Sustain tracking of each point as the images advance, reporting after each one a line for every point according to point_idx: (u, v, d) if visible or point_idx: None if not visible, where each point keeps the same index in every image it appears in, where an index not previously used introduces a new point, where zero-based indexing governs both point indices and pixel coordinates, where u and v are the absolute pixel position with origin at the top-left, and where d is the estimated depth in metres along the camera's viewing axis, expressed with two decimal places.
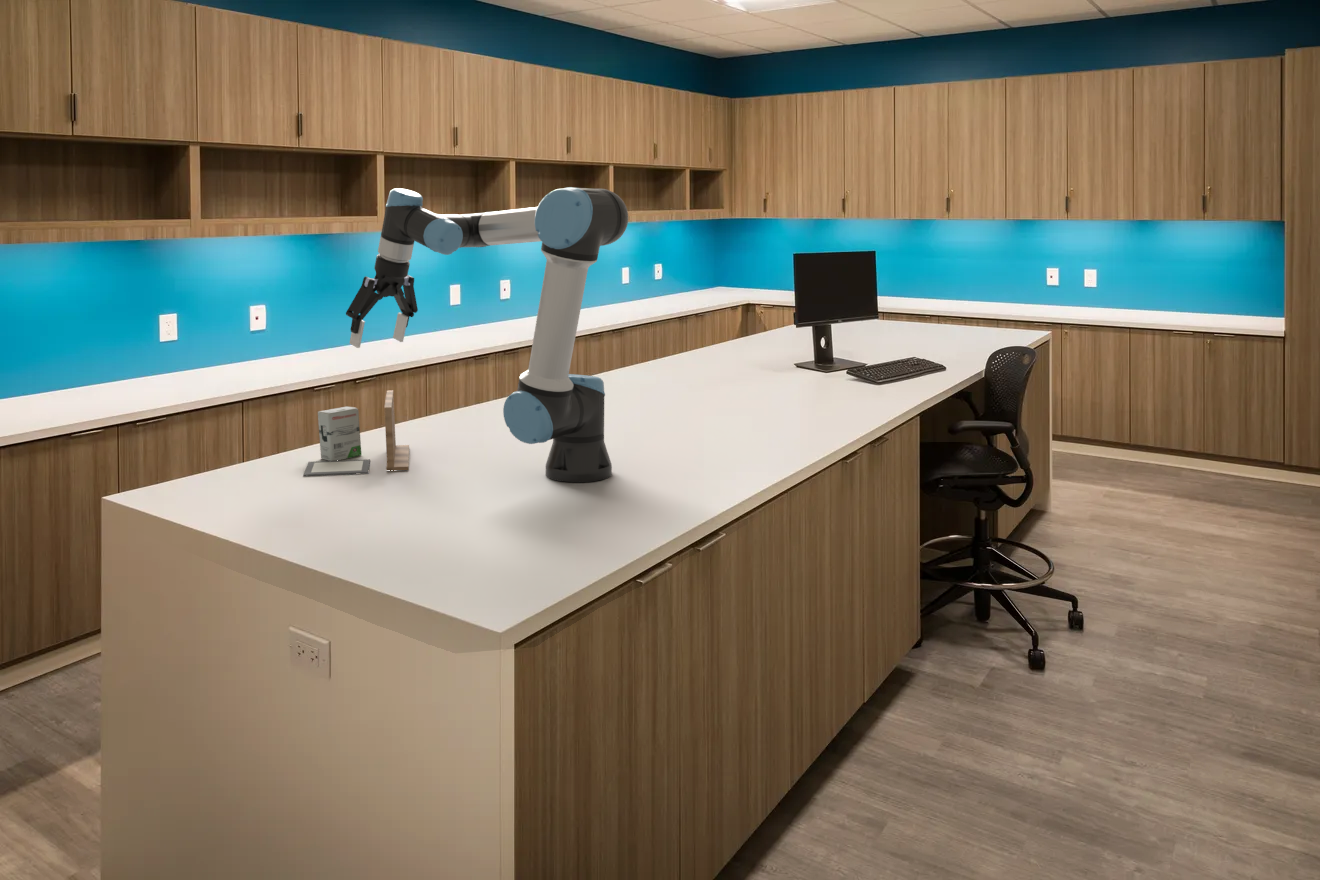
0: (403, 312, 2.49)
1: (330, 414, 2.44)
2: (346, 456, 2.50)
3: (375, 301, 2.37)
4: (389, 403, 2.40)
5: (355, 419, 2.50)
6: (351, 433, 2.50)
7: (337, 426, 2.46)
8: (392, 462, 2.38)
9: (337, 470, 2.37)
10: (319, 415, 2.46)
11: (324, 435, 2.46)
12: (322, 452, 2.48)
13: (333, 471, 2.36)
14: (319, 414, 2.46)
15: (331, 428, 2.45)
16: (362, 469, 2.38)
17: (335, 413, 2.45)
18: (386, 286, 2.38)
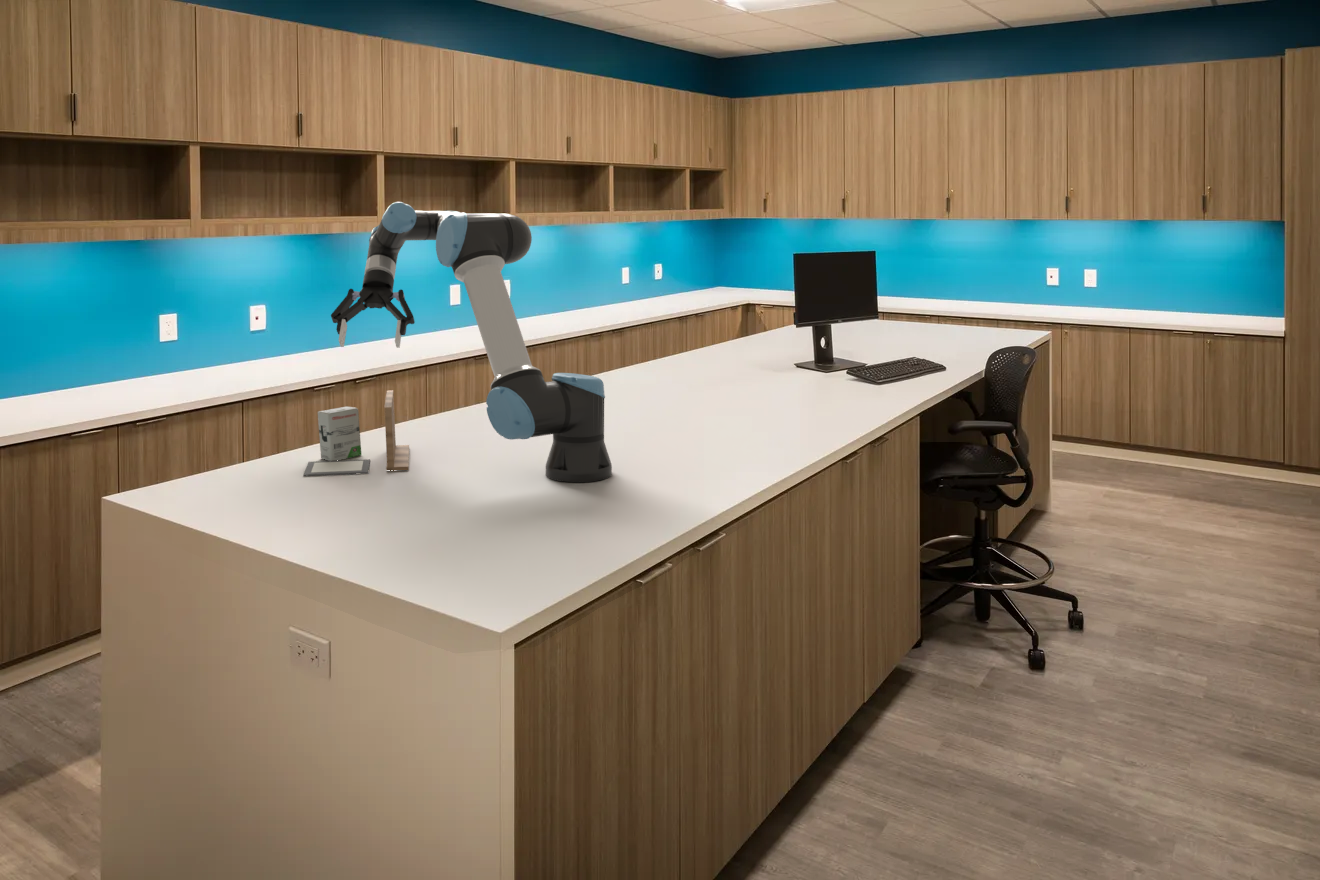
0: None
1: (330, 414, 2.44)
2: (346, 456, 2.50)
3: (356, 305, 2.60)
4: (389, 403, 2.40)
5: (355, 419, 2.50)
6: (351, 433, 2.50)
7: (336, 426, 2.46)
8: (392, 462, 2.38)
9: (337, 470, 2.37)
10: (319, 415, 2.46)
11: (324, 435, 2.46)
12: (322, 452, 2.48)
13: (333, 471, 2.36)
14: (319, 414, 2.46)
15: (331, 428, 2.45)
16: (362, 469, 2.38)
17: (335, 413, 2.45)
18: None
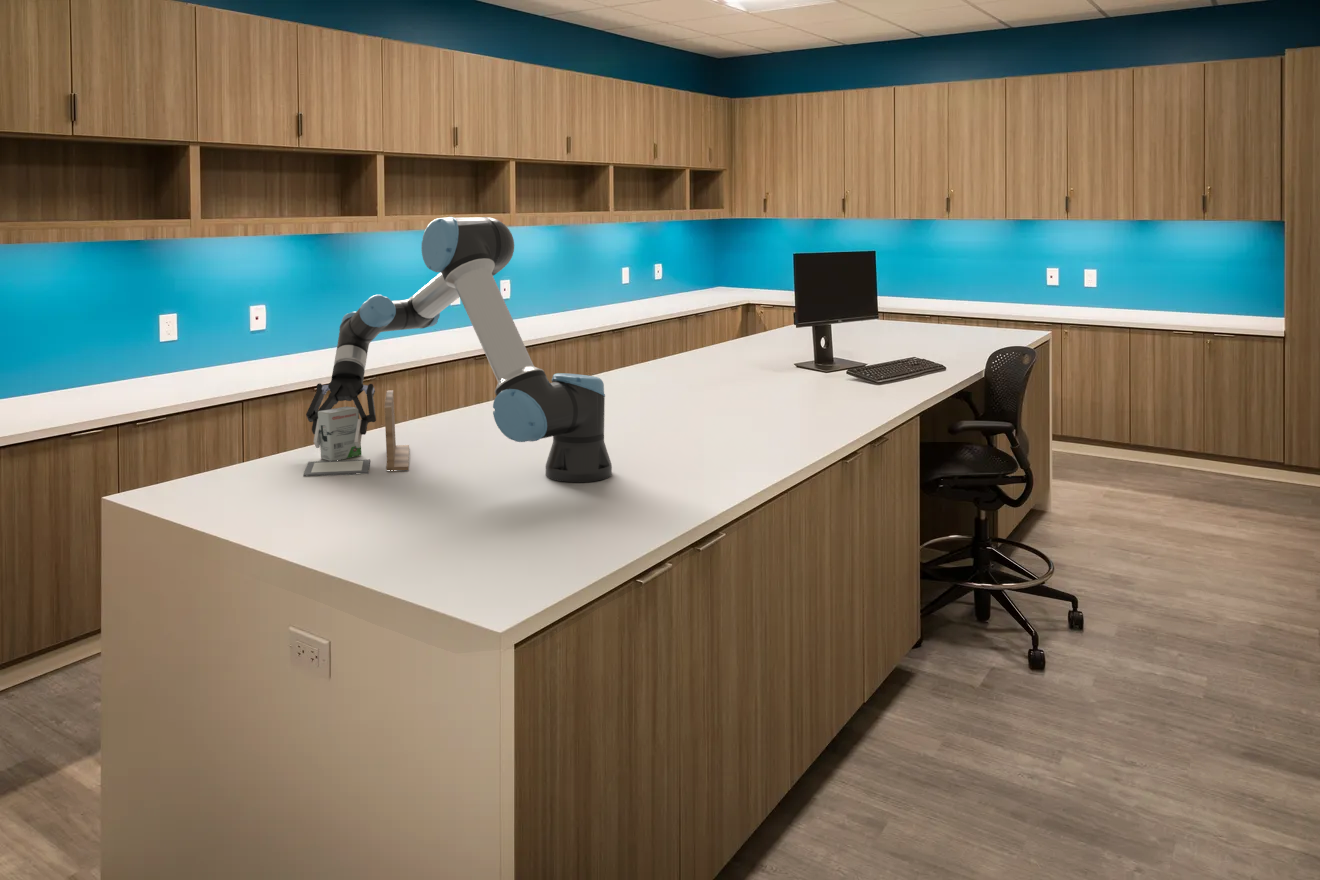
0: None
1: (330, 414, 2.44)
2: (346, 456, 2.50)
3: (328, 400, 2.52)
4: (389, 403, 2.40)
5: (355, 418, 2.50)
6: (351, 433, 2.50)
7: (337, 426, 2.46)
8: (392, 462, 2.38)
9: (337, 470, 2.37)
10: (319, 415, 2.46)
11: (324, 435, 2.46)
12: (322, 452, 2.48)
13: (333, 471, 2.36)
14: (319, 414, 2.46)
15: (331, 428, 2.45)
16: (362, 469, 2.38)
17: (335, 413, 2.45)
18: None
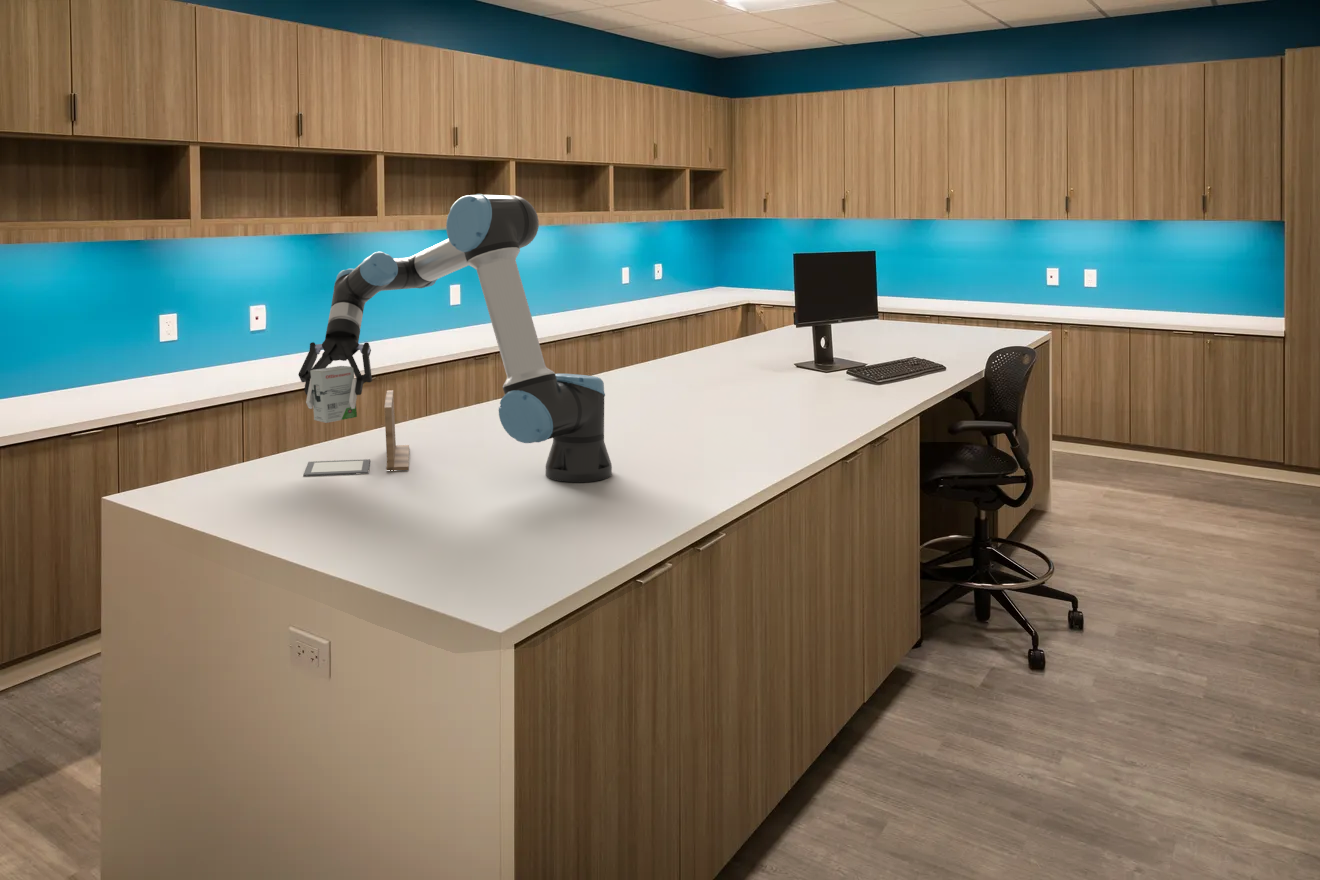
0: None
1: (323, 372, 2.32)
2: (341, 417, 2.37)
3: (322, 359, 2.40)
4: (389, 403, 2.40)
5: (349, 378, 2.38)
6: (345, 393, 2.37)
7: (330, 385, 2.34)
8: (392, 462, 2.38)
9: (337, 470, 2.37)
10: (312, 374, 2.34)
11: (317, 394, 2.34)
12: (315, 413, 2.36)
13: (333, 471, 2.36)
14: (312, 373, 2.34)
15: (325, 387, 2.33)
16: (362, 469, 2.38)
17: (329, 371, 2.33)
18: None
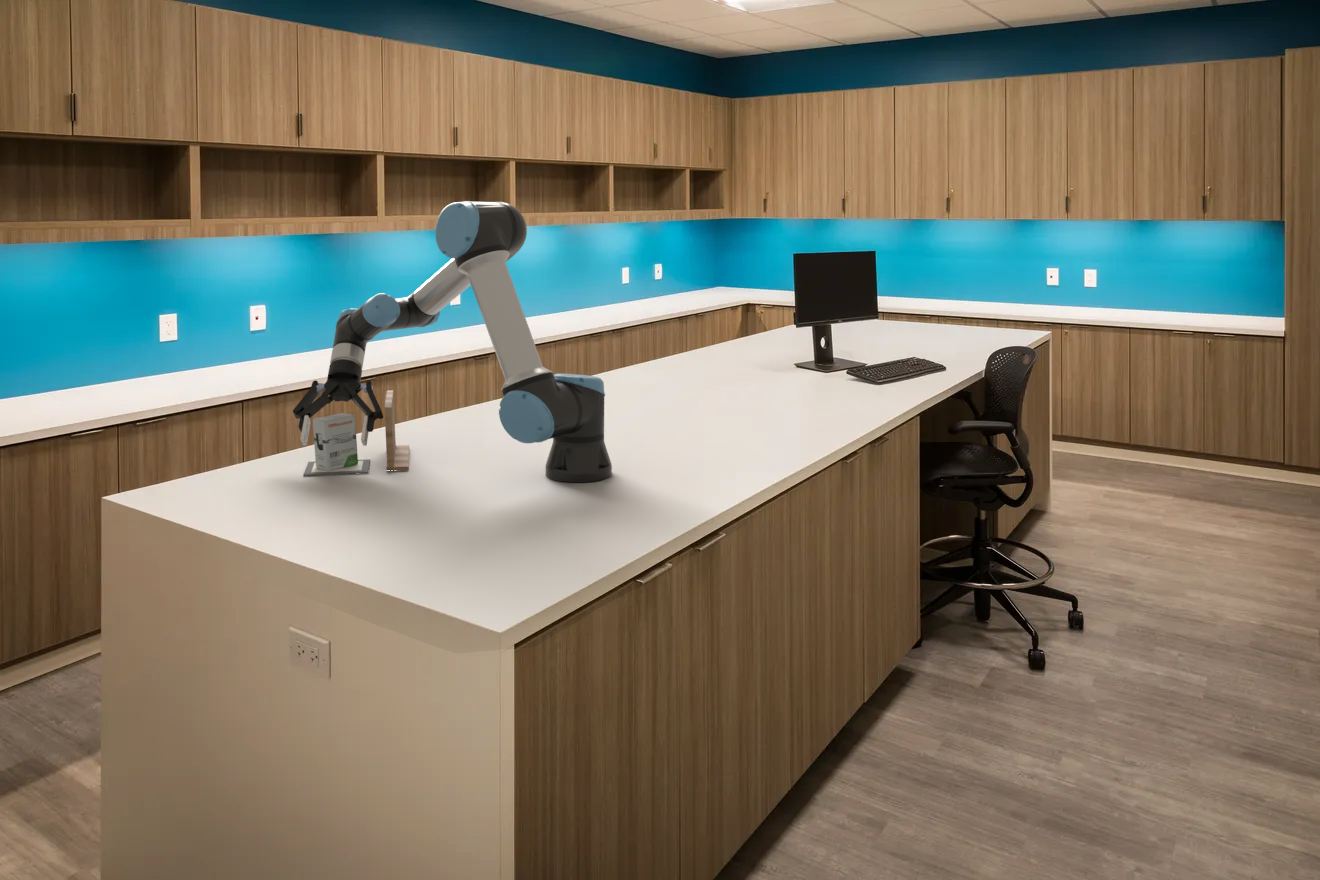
0: None
1: (326, 422, 2.34)
2: (342, 465, 2.39)
3: (320, 398, 2.42)
4: (389, 403, 2.40)
5: (351, 426, 2.40)
6: (347, 441, 2.39)
7: (333, 434, 2.36)
8: (392, 462, 2.38)
9: (337, 470, 2.37)
10: (314, 422, 2.36)
11: (320, 443, 2.36)
12: (317, 461, 2.38)
13: (333, 471, 2.36)
14: (314, 421, 2.36)
15: (327, 436, 2.35)
16: (362, 469, 2.38)
17: (331, 420, 2.35)
18: None
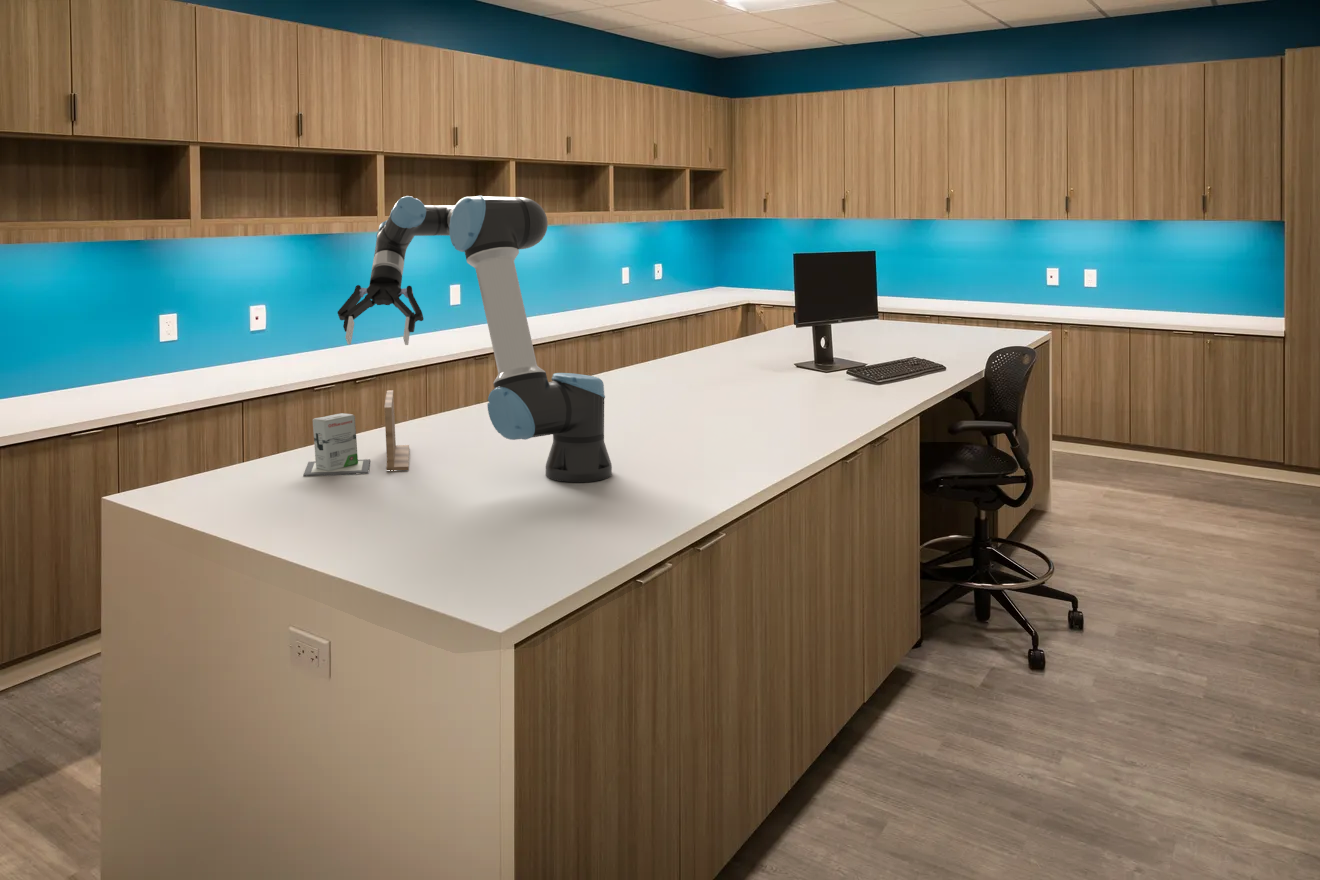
0: None
1: (326, 421, 2.34)
2: (342, 465, 2.39)
3: (363, 301, 2.53)
4: (389, 403, 2.40)
5: (351, 426, 2.40)
6: (347, 441, 2.39)
7: (333, 434, 2.36)
8: (392, 462, 2.38)
9: (337, 470, 2.37)
10: (314, 422, 2.36)
11: (320, 443, 2.36)
12: (317, 461, 2.38)
13: (333, 471, 2.36)
14: (314, 421, 2.36)
15: (327, 436, 2.35)
16: (362, 469, 2.38)
17: (331, 420, 2.35)
18: None
